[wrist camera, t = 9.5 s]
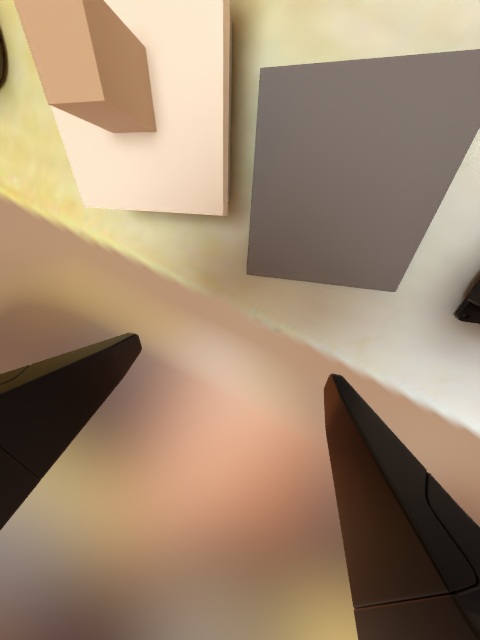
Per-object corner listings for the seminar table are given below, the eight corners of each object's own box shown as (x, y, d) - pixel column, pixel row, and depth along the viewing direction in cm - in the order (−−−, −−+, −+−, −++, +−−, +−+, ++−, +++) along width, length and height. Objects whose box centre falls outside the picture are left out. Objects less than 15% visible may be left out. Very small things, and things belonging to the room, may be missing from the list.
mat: (511, 52, 10) (521, 45, 9) (392, 290, 16) (395, 292, 16) (261, 73, 12) (260, 68, 11) (247, 272, 18) (246, 274, 18)
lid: (231, -112, 7) (162, -479, 3) (227, 215, 13) (200, 216, 9) (17, -53, 9) (-178, -242, 5) (96, 207, 15) (28, 205, 11)
